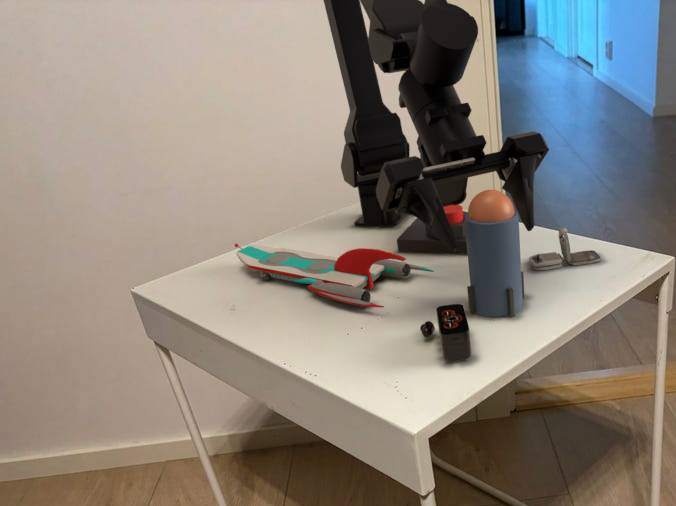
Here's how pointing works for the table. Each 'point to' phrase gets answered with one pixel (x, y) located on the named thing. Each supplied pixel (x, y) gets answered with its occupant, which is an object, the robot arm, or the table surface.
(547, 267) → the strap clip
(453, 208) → the button
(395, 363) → the table surface
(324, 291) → the toy spaceship
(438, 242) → the box
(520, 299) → the toy rocket
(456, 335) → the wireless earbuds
